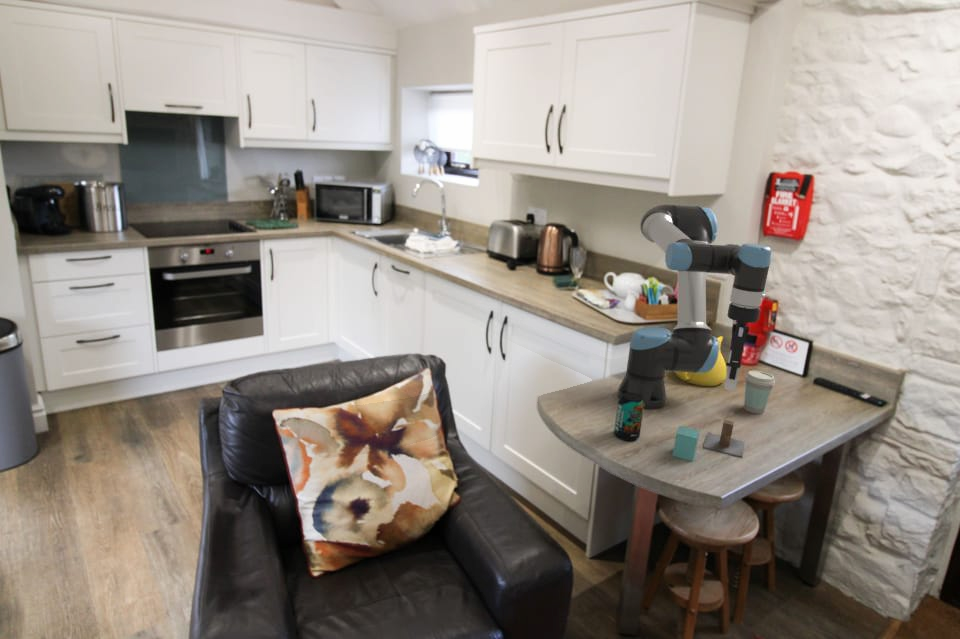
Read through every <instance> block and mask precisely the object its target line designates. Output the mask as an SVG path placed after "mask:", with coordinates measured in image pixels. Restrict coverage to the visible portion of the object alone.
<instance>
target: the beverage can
mask: <svg viewBox="0 0 960 639" xmlns="http://www.w3.org/2000/svg"><path fill="white" fill-rule="evenodd" d="M644 409H645V408H644V402H643V397H642V396H640V395H638V394H636V393H630V392H627V393H623V394H622V395H621V398H620V399H619V398H618V401H617V407H616V414H615V415H616V416H615V421H614V428H613V433H614V436H616V438H618V439H619V440H622V441H627V442H633V441H636V440H638V439H639V438H640V435H641V428H642V422H643V416H644Z"/></svg>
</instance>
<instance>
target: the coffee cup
mask: <svg viewBox="0 0 960 639" xmlns="http://www.w3.org/2000/svg"><path fill="white" fill-rule="evenodd" d="M775 383H776V381H775V376H774V375H773V374H771V373H769V372H767V371H761V370H748V373H747V374H746V375H745V390H744V391H745V392H744V393H745V394H744V401H743V402H744V405H743V407H744V410H745V411H747V412H749V413H752V414H756V415H760V414H761V415H762V414H764V413H765V410H766V406H767V404H768V402H769V398H770V395H771V392H772V390H773V388H774V385H775Z"/></svg>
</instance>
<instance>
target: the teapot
mask: <svg viewBox="0 0 960 639" xmlns="http://www.w3.org/2000/svg"><path fill="white" fill-rule="evenodd" d="M716 338H717V339H718V342H719V354H718V358H717V361H716V363H715V365H714V367H713V368H712V370H710V371H709V372H706V373H693V372H679V371H674V373H675V374H676V376H677V377H678V379H679V380H680V379H681V380H682V381H684V382H686V383H689V384H692V385H695V386H701V387H715V386H719V385H720V384H722V383H723V382H724V381H726V376H727V373H726V370H727V366H726V361H725V358H724V357H723V355H722V353H721V352H722V351H721V345H722V341H723V339H724V336H718V337H716Z"/></svg>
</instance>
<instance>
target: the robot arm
mask: <svg viewBox="0 0 960 639" xmlns="http://www.w3.org/2000/svg"><path fill="white" fill-rule="evenodd" d="M639 226H640V227H639V228H640V231H641V234H642V235H643V237H644V238H645V239H646V240H648V241H649V242H651V243H654V244H656V245H657V246H658V247H659V248H660V250H661V251H663V252H664V253H665V256H664V260H665V266H666V268H667V269H668V270H669V271H670V270H671V271H676V272H677V325H675V327H674V328H673V329H672V333H671V331H670V329H667V328H665V327H659V326H645V327H644V326H643V327H640V328H638V329H636V330H635V331H633V333H632V335H631V340H630V342H629V350H628V351H629V352H628V356H627V357H628V359H627V364H626V373H625V374H624V377H623V378H622V381H621V383H620V384H619V387H618V389H617V395H616V396H617V398H618V400H619V399H620V398H621V395H622V394H623V393H627V392H630V393H636V394H638V395H640V396H642V397H643V402H644V409H645V410H647V409H648V410H650V409H651V410H654V409H660V408H663V407H665V405H666V402H667V392H666V387H665V380H664V379H665V372H675V371H679V372H693V373H706V372H709V371H710V370H712V368H713V367H714V365H715V363H716V361H717V358H718V354H719V342H718V339H717V338H718V337H716V336H714V335H712V329H711V327H710V326H708V324H707V293H706V292H707V290H706V289H707V287H706V286H707V284H706V283H707V282H706V281H707V277H706V275H707V273H709V274H722V275H723V274H724V275H732V276H733V283H732V286H731V287H732V288H731V293H730V298H729V301H730V302H731V303H729V304H728V309H727V315H726V316H727V317H728V318H729V319H730V320H732V321H735V323H733V324H732V329H731V333H732V334H731V340H730V341H731V342H730V344H731V346H730V350H729V355H728V360H727V362H725V364H726V373H727V375H726V379H725V380H724V381H725V382H724V388H723V390H725V391H729V392H736V390H737V383H738V378H739V373H740V368H741V365H742V364H741V361H742V357H743V352H744V349H745V348H744V346H745V345H746V344H747V336H748V335H749V331H750V326H749V325H748V323H750V324H754V323H757V322H758V321H759V320H760V313H761V308H760V306H762V302H763V299H766V297H767V296H766V294H764V293H765V292H764V291H765V287H766V284H767V278H768V276H769V275H768V274H769V270H770V267H771V259H772V258H771V257H772V248H771V247H769V246H768V245H763V244H758V243H757V244H756V243H743V244H741V245H739V244H733V243H729V244H728V243H727V244H724V245H722V244H721V245H720V244H712V243H714V242H715V241H716V238H717V233H718V219H717V216H716V215H715V212H714V211H713V210H712V209H711V208H709V207H704V206H703V207H702V206H699V205H695V206H694V205H675V204H659V205H656V206H654V207H652V208H649V209H648V210H647V211H646V212H644V214H643V215H642V218H641V219H640V224H639Z"/></svg>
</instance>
